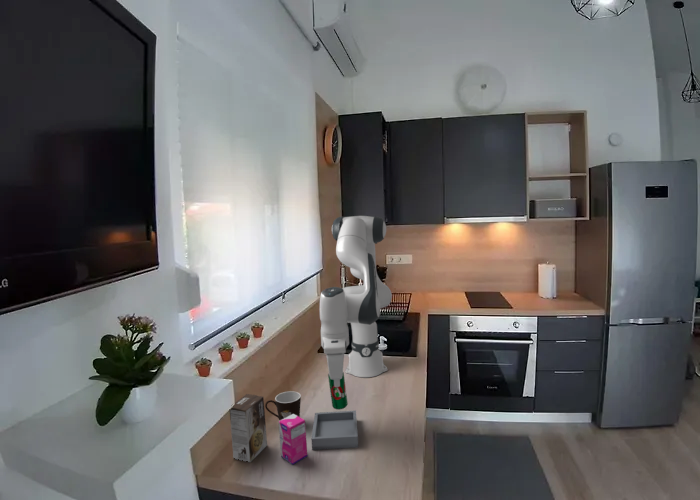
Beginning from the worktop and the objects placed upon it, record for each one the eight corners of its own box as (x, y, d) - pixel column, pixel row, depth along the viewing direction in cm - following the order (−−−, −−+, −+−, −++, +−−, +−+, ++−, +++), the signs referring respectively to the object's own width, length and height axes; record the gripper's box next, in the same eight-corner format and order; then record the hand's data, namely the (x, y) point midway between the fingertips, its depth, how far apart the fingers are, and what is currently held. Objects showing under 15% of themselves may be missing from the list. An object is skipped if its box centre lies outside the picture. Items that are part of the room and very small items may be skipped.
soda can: (340, 401, 132) (335, 366, 131) (351, 404, 128) (346, 369, 127) (329, 407, 128) (324, 372, 127) (340, 411, 125) (335, 374, 124)
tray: (315, 422, 137) (315, 412, 136) (356, 420, 137) (355, 410, 137) (312, 450, 121) (311, 438, 120) (358, 447, 121) (357, 436, 121)
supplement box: (280, 457, 118) (277, 420, 117) (296, 448, 122) (294, 412, 121) (292, 465, 114) (289, 427, 113) (308, 456, 118) (306, 419, 117)
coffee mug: (307, 422, 137) (305, 394, 136) (291, 434, 130) (289, 405, 129) (281, 414, 143) (279, 387, 142) (264, 426, 136) (262, 398, 135)
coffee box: (250, 442, 127) (247, 393, 125) (267, 445, 124) (264, 395, 123) (232, 459, 118) (228, 406, 117) (250, 463, 116) (246, 409, 114)
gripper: (326, 330, 137) (328, 369, 138) (323, 350, 116) (326, 396, 118) (344, 329, 137) (346, 368, 138) (345, 349, 116) (347, 395, 118)
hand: (337, 381), depth 128 cm, fingers closed on soda can, 5 cm apart
